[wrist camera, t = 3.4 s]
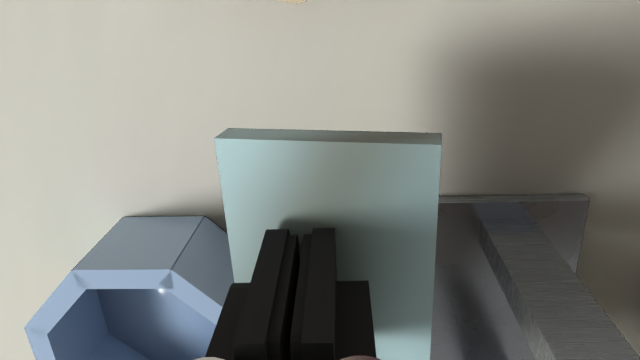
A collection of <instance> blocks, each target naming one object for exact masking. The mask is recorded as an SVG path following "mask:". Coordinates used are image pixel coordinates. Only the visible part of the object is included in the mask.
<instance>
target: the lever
mask: <svg viewBox="0 0 640 360" xmlns="http://www.w3.org/2000/svg"><path fill="white" fill-rule="evenodd" d="M441 140H442V133H414V132H371V131H329V130H286V129H244V128H228V129H227V130H225V131H224V132H222V133H221V134H220V135H218V136H217V137H215V138H214V141H215V148H216V155H217V162H218V170H219V177H220V184H221V191H222V198H223V205H224V212H225V219H226V226H227V233H228V240H229V247H230V254H231V261H232V269H233V276H234V283H250V282H251V279H252V275H253V272H254V268H255V265H256V262H257V258H258V255H259V251H260V248H261V244H262V241H263V238H264V234H265V231H266V229H289V231H290V235H298V242H299V256H300V260H301V253H302V245H303V238H304V234H312V230H313V228H335V242H336V268H337V281H364V280H368V281H369V289H370V299H371V309H372V318H373V328H374V338H375V347H376V357H377V358H379V359H381V360H430V347H431V328H432V310H433V291H434V273H435V255H436V236H437V218H438V199H439V181H440V162H441Z"/></svg>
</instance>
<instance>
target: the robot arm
mask: <svg viewBox="0 0 640 360" xmlns="http://www.w3.org/2000/svg"><path fill="white" fill-rule="evenodd" d="M193 360H381V359H379V358H377V357H376V347H375V338H374V328H373V318H372V309H371V299H370V289H369V281H368V280H364V281H337V268H336V242H335V228H313V230H312V234H304V238H303V245H302V253H301V260H300V256H299V242H298V235H290V231H289V229H266V231H265V234H264V238H263V241H262V244H261V248H260V251H259V255H258V258H257V262H256V265H255V268H254V272H253V275H252V279H251V282H250V283H232V284H231V286H230V288H229V291H228V293H227V296H226V299H225V302H224V305H223V307H222V310H221V313H220V316H219V319H218V322H217V324H216V327H215V330H214V333H213V336H212V338H211V341H210V344H209V347H208V350H207V352H206V355H205V357H202V358H198V359H193Z"/></svg>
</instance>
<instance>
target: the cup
mask: <svg viewBox="0 0 640 360" xmlns="http://www.w3.org/2000/svg"><path fill="white" fill-rule="evenodd" d="M232 283H234V276H233V269H232V261H231V254H230V247H229V240H228V234H227V233H226V232H224V231H223V230H222V229H221V228H219V227H218V226H217V225H215V224H214V223H213V222H212V221H210V220H209V219H208V218H206V217H204V216H163V217H123V218H121V219H120V220H119V222H118V223H117V224H116V225H115V226H114V227H113V228H112V229H111V230H110V231H109V232H108V233H107V234H106V235H105V236H104V237H103V238H102V239H101V240H100V241H99V242H98V243H97V244H96V245H95V246H94V247H93V249H92V250H91V251H90V252H89V253H88V254H87V255H86V256H85V257H84V258H83V259H82V260H81V261H80V262H79V263H78V264H77V265H76V266H75V267H74V268H73V269H72V270H71V272H70V273H69V274H68V275H67V276H66V278H65V279H64V280H63V281H62V282H61V284H60V285H59V286H58V287H57V288H56V290H55V291H54V292H53V293H52V294H51V296H50V297H49V298H48V299H47V301H46V302H45V303H44V304H43V305H42V307H41V308H40V309H39V310H38V311H37V313H36V314H35V315H34V316H33V317H32V319H31V320H30V321H29V322H28V323H27V325H26V326H25V328H24V329H25V331H26V334H27V337H28V340H29V342H30V345H31V348H32V351H33V353H34V356H35V359H36V360H193V359H198V358H202V357H205V355H206V352H207V350H208V347H209V344H210V341H211V338H212V336H213V333H214V330H215V327H216V324H217V322H218V319H219V316H220V313H221V310H222V307H223V305H224V302H225V299H226V296H227V293H228V291H229V288H230V286H231V284H232Z"/></svg>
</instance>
